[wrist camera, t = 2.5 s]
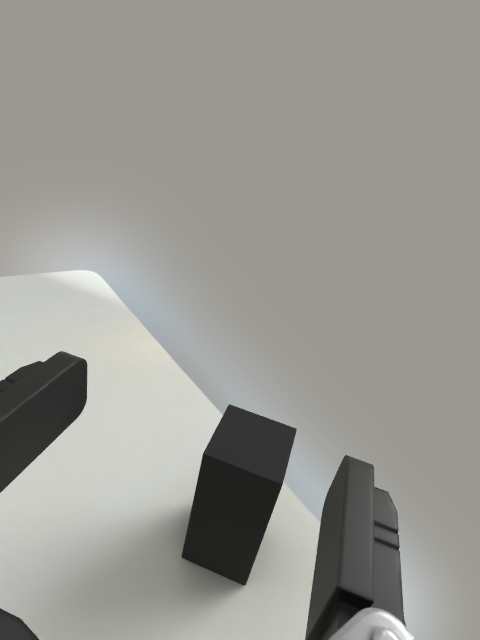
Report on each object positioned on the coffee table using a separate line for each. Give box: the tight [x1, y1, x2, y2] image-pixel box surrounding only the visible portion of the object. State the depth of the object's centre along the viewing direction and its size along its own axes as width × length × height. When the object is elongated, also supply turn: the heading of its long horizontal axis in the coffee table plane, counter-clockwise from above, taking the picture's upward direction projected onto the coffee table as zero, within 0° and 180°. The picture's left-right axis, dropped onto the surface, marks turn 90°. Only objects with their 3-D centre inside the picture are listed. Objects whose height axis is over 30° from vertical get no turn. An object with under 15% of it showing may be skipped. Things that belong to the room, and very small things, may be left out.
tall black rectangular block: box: [182, 405, 296, 585], centre depth 28 cm, size 5×5×11 cm
